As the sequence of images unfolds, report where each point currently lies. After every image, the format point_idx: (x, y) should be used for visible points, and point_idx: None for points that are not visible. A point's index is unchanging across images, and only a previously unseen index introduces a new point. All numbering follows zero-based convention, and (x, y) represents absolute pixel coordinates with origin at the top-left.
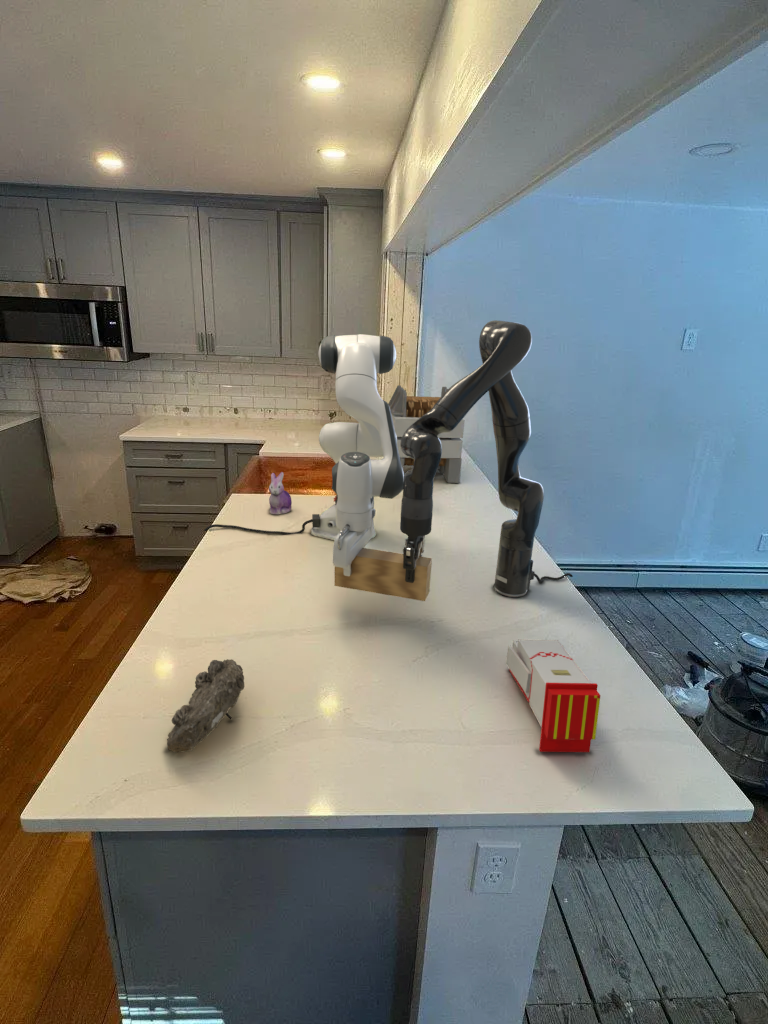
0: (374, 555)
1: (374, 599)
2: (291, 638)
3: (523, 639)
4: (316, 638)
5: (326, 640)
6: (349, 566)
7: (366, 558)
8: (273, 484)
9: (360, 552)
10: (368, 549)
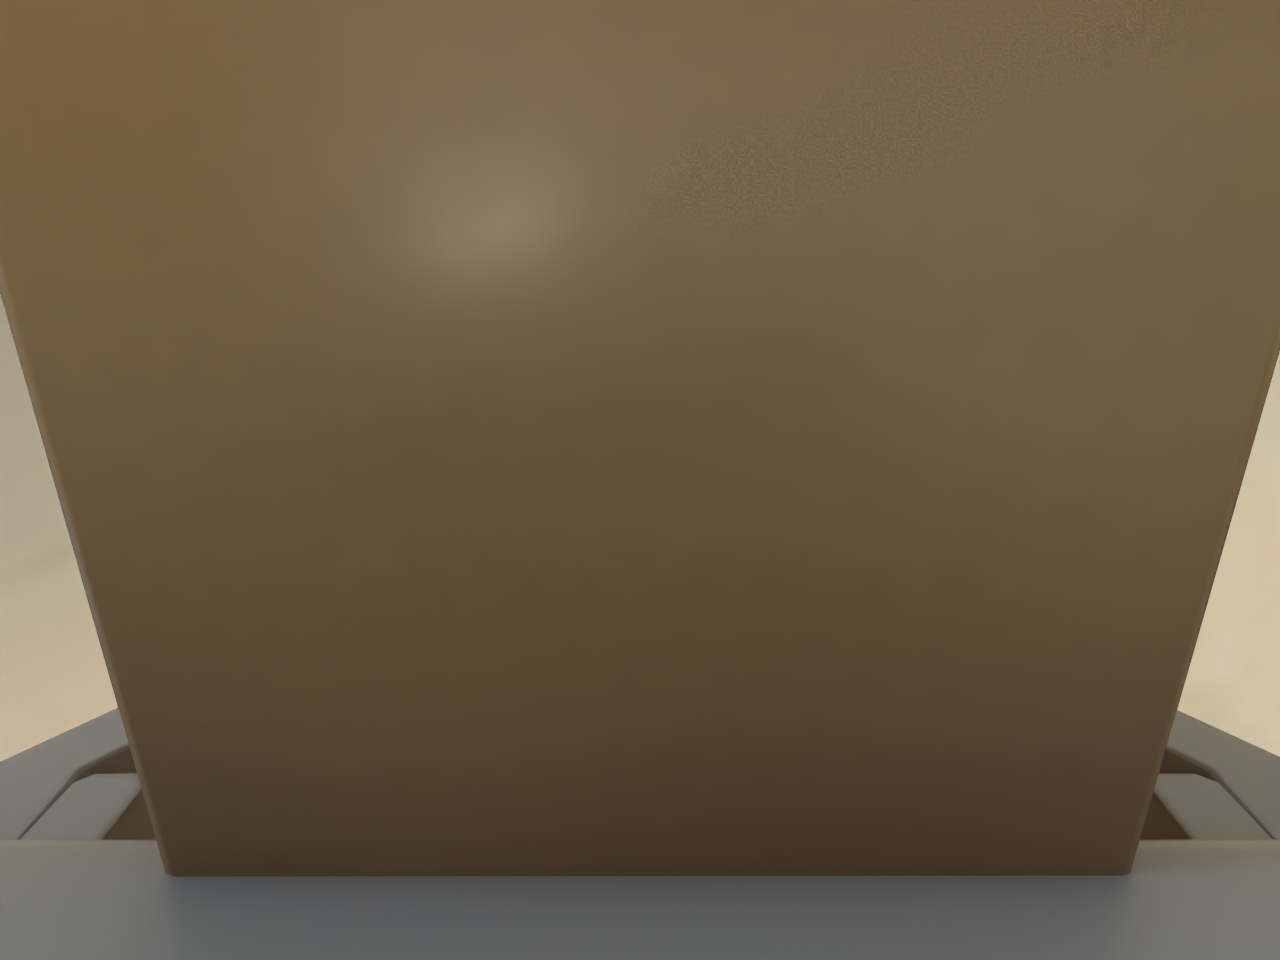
0: (869, 14)
1: None
2: (1257, 683)
3: None
4: (1239, 509)
5: (1266, 418)
6: (1253, 755)
7: (1237, 385)
8: None
9: (704, 820)
10: (199, 607)
